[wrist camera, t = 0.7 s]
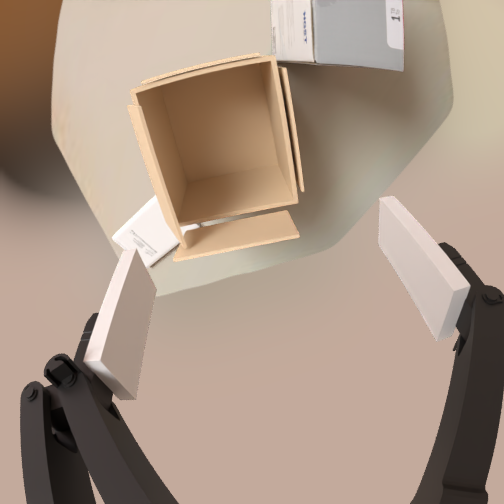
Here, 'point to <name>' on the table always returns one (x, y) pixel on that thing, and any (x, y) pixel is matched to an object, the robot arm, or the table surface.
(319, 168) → the table surface
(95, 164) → the table surface
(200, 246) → the flap
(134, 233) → the external hard drive
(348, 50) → the hard drive box
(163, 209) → the flap
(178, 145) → the carton
